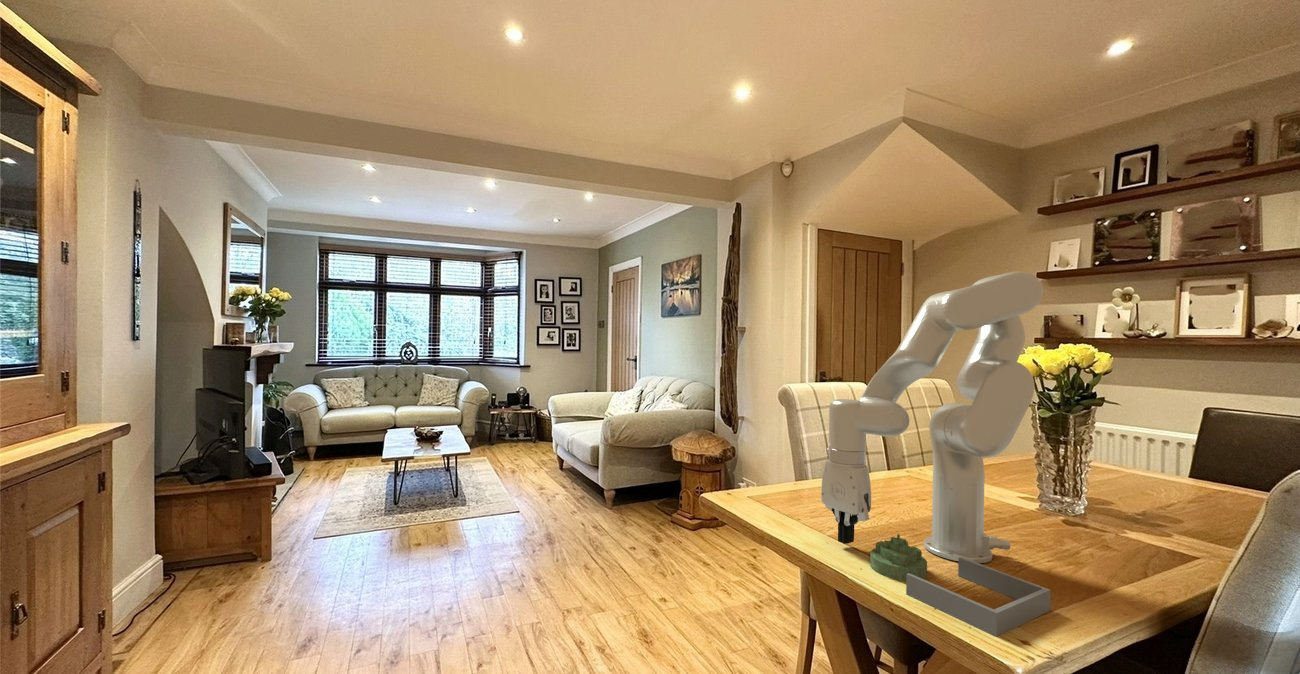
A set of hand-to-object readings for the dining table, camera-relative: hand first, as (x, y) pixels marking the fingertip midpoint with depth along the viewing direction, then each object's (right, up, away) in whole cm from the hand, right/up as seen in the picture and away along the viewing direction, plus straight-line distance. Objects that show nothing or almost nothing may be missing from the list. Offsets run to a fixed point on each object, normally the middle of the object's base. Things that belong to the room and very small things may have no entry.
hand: (845, 541), depth 112 cm
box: (+14, -1, -23) cm, 27 cm away
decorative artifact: (+6, -2, -11) cm, 12 cm away
